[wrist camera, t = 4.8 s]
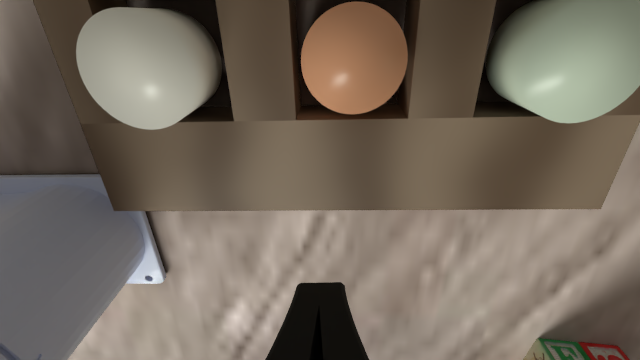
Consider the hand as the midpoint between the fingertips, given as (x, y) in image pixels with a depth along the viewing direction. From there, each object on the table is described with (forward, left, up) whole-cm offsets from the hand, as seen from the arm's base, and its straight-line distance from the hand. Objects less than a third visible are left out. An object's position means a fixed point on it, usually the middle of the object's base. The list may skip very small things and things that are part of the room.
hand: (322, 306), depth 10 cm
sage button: (+9, +6, -7) cm, 13 cm away
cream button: (-6, +6, -7) cm, 12 cm away
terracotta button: (+1, +6, -9) cm, 11 cm away
